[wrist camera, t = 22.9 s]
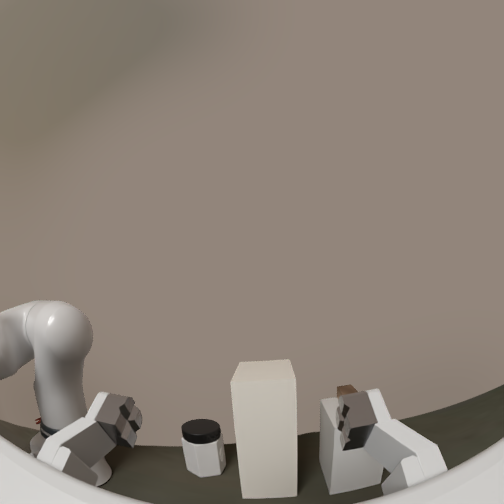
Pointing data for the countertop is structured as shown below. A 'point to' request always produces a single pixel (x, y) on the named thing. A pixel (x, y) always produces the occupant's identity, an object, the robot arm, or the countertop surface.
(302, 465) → the countertop surface
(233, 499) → the countertop surface
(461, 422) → the countertop surface
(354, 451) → the low stand
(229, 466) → the countertop surface
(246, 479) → the tall stand
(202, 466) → the jar
